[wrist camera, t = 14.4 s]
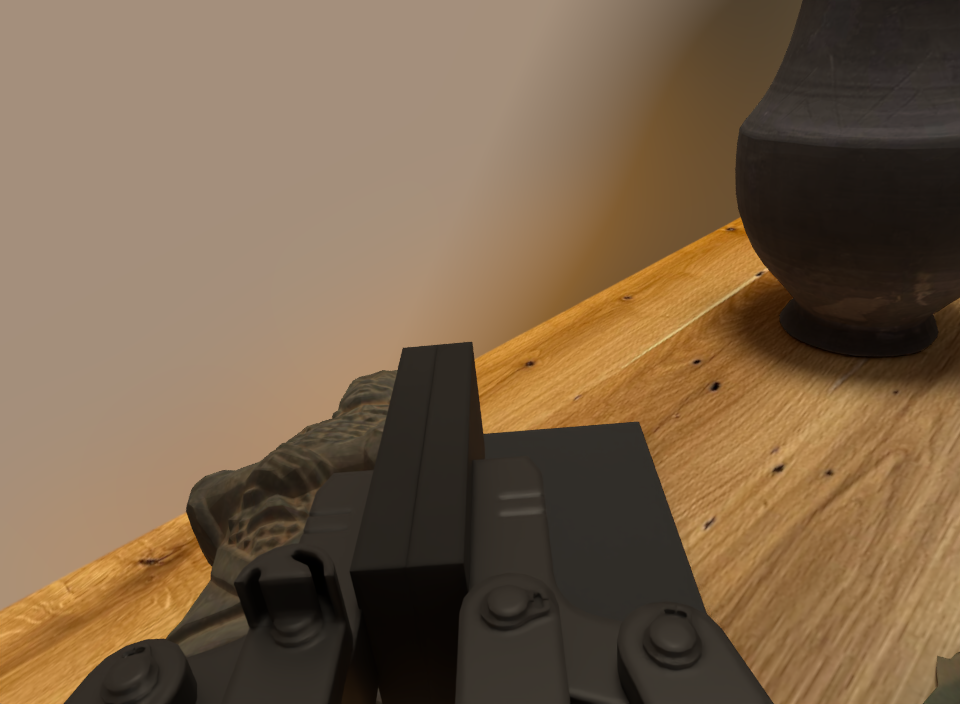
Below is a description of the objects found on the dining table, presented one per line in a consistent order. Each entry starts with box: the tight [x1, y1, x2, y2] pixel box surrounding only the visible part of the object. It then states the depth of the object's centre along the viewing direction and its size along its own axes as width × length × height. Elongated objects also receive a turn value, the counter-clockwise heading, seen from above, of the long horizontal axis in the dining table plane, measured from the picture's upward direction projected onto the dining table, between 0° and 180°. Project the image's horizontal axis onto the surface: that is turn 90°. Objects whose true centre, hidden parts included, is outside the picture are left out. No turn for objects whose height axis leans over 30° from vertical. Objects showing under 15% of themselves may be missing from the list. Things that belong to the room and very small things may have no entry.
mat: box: [483, 422, 707, 621], centre depth 31 cm, size 20×14×1 cm
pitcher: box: [735, 0, 960, 357], centre depth 41 cm, size 17×21×30 cm
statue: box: [166, 370, 397, 704], centre depth 27 cm, size 11×9×30 cm
